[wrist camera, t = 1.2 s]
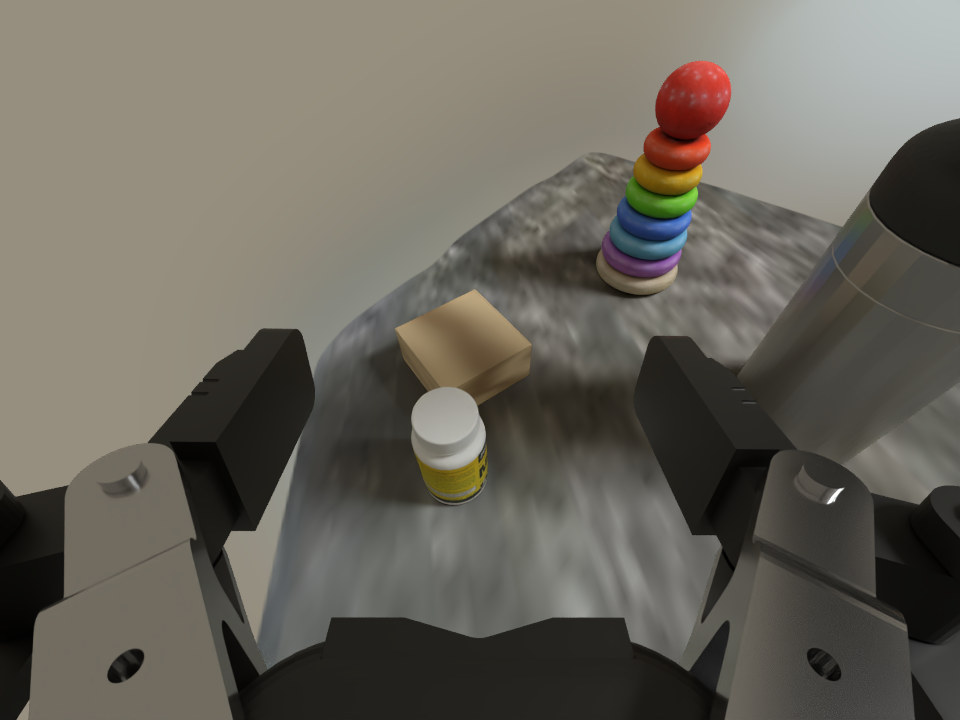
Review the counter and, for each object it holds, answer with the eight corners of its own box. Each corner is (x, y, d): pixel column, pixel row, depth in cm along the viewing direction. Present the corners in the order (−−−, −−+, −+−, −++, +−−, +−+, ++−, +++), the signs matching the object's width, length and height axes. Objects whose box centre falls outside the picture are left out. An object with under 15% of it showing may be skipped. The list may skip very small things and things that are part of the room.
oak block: (477, 320, 41) (475, 289, 38) (529, 374, 37) (531, 344, 34) (403, 358, 39) (395, 328, 36) (450, 422, 35) (445, 393, 31)
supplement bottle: (494, 499, 30) (492, 443, 24) (427, 512, 30) (407, 458, 24) (481, 439, 33) (476, 375, 27) (421, 451, 33) (401, 388, 26)
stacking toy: (638, 310, 41) (713, 95, 27) (578, 269, 46) (615, 62, 31) (690, 276, 44) (783, 64, 30) (629, 240, 48) (685, 38, 34)
